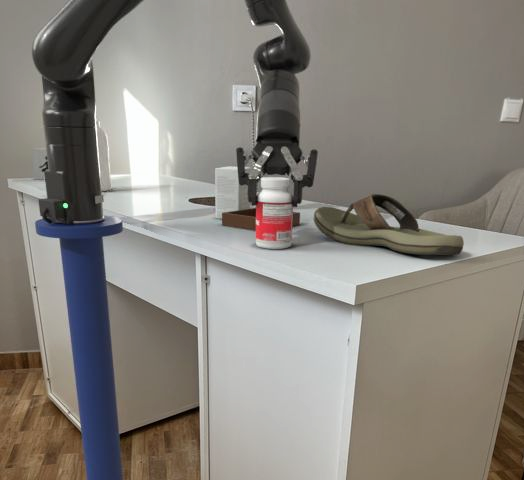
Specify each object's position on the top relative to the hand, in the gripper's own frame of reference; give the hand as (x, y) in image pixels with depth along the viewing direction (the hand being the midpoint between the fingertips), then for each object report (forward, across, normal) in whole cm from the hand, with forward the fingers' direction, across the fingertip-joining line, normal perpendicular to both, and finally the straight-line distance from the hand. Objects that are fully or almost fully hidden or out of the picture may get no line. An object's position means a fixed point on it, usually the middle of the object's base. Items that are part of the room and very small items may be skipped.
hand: (274, 203), depth 90 cm
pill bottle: (+4, 0, +6) cm, 8 cm away
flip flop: (+1, +19, +9) cm, 21 cm away
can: (-50, -57, +61) cm, 97 cm away
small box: (-18, -10, +29) cm, 35 cm away
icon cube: (-75, -83, +86) cm, 141 cm away
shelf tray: (-11, -3, +22) cm, 25 cm away
